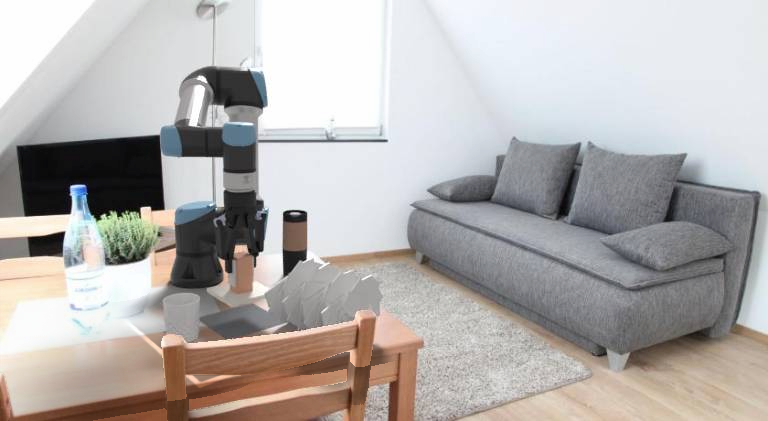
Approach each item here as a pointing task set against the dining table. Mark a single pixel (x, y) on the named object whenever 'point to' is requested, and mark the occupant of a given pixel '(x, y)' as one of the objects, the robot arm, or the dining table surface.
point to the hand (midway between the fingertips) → (241, 282)
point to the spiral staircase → (321, 296)
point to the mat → (240, 321)
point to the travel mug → (294, 239)
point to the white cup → (182, 315)
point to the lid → (240, 284)
